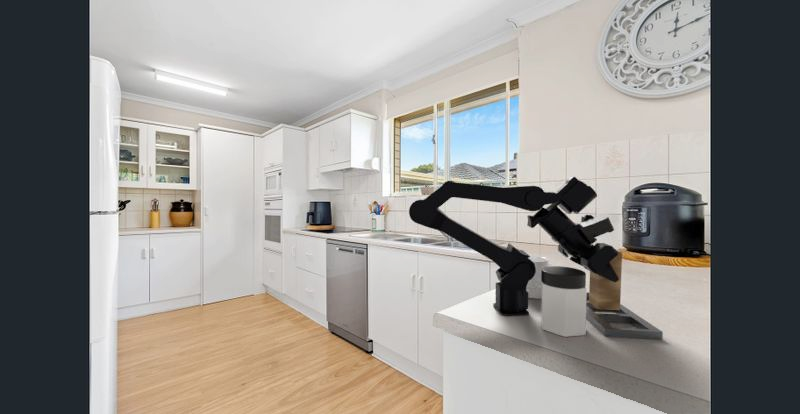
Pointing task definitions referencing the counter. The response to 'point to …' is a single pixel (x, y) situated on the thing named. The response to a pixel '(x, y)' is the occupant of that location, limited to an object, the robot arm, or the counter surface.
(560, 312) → the jar
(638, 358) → the counter surface
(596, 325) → the rail plate
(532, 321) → the counter surface
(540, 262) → the white cup
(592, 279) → the oak block
